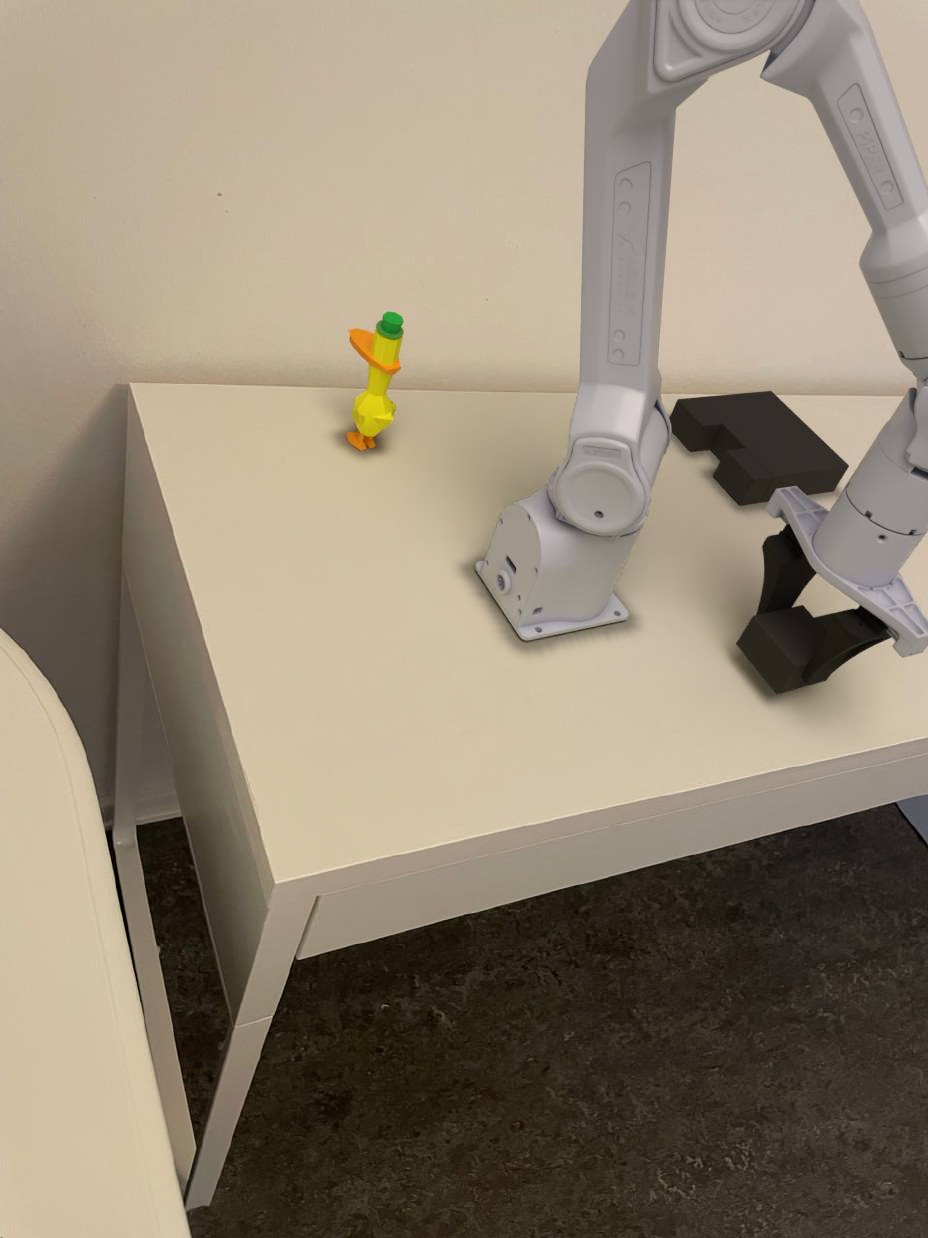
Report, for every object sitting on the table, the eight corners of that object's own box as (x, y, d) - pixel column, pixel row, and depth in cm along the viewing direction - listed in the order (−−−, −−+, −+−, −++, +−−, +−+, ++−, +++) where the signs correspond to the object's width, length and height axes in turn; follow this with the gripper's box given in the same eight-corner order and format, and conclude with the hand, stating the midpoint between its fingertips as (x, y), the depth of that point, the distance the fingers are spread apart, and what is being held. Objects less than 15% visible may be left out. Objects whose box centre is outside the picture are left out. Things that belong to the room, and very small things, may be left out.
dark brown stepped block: (776, 694, 73) (796, 667, 71) (735, 643, 76) (752, 615, 74) (845, 675, 76) (866, 648, 74) (803, 627, 79) (822, 600, 77)
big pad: (739, 505, 92) (753, 479, 90) (665, 424, 98) (677, 398, 96) (834, 490, 97) (849, 465, 95) (758, 415, 104) (771, 390, 102)
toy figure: (318, 422, 86) (341, 290, 77) (353, 413, 88) (378, 284, 79) (367, 469, 83) (395, 338, 74) (401, 458, 85) (432, 329, 76)
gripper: (1011, 574, 63) (894, 714, 72) (857, 430, 71) (769, 573, 80) (936, 592, 60) (823, 736, 69) (782, 439, 68) (700, 586, 77)
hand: (789, 649), depth 74 cm, fingers closed on dark brown stepped block, 5 cm apart
